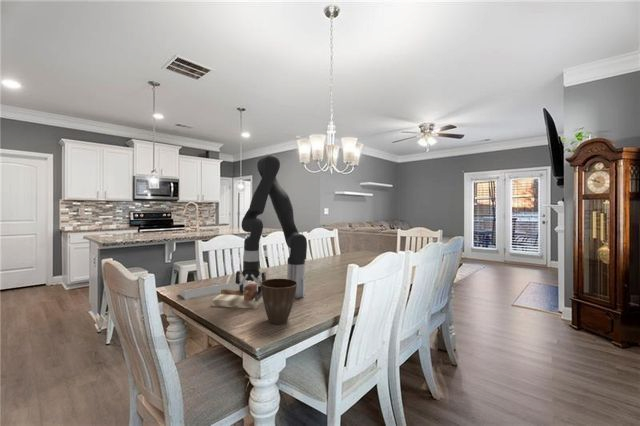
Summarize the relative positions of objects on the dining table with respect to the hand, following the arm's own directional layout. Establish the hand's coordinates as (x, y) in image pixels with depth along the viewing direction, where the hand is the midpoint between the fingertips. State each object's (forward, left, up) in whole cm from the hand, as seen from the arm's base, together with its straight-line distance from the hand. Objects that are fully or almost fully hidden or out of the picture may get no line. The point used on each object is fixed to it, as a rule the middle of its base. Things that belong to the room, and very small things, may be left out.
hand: (250, 293), depth 144 cm
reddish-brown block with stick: (0, +2, -2) cm, 3 cm away
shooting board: (+6, 0, -5) cm, 8 cm away
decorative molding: (+26, -17, -6) cm, 32 cm away
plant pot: (-18, +18, -6) cm, 26 cm away
